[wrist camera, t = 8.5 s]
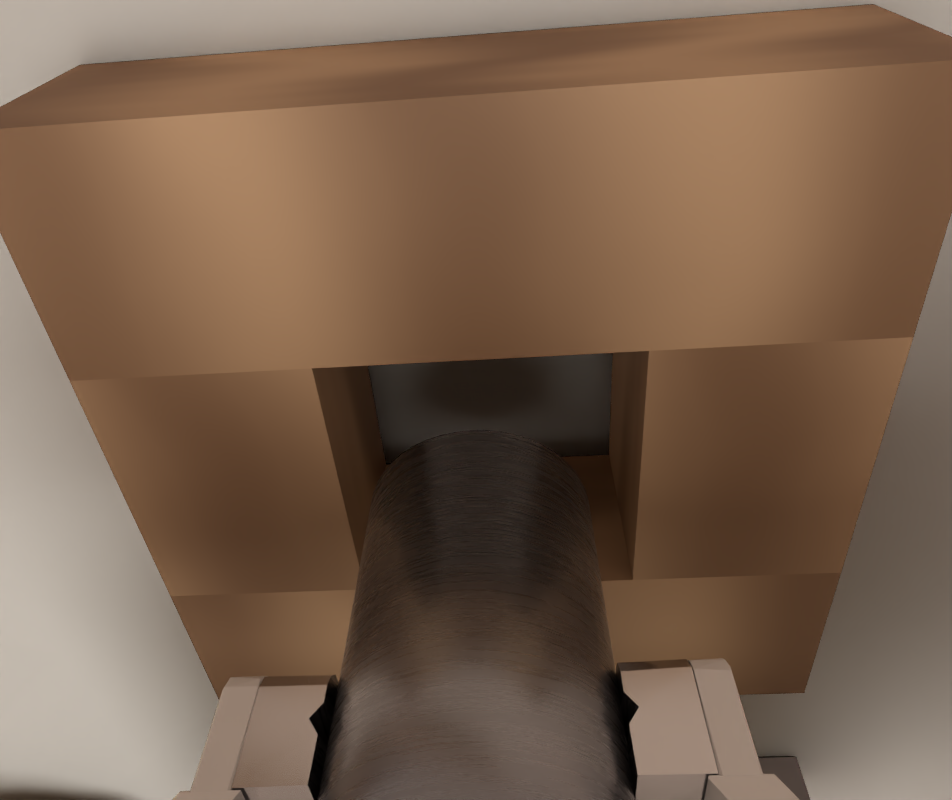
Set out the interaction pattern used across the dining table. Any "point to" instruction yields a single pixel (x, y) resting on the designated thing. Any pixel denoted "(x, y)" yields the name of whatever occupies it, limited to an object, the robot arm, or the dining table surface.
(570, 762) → the peg
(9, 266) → the dining table surface
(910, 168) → the socket plate
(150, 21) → the dining table surface
